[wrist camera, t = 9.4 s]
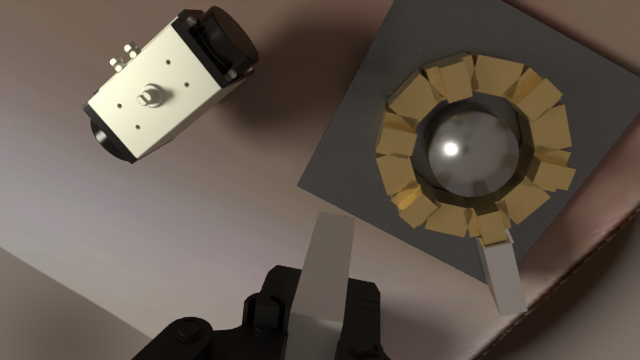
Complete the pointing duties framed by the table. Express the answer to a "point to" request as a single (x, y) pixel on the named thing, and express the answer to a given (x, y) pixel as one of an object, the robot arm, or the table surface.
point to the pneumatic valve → (170, 82)
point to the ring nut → (506, 202)
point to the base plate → (466, 119)
